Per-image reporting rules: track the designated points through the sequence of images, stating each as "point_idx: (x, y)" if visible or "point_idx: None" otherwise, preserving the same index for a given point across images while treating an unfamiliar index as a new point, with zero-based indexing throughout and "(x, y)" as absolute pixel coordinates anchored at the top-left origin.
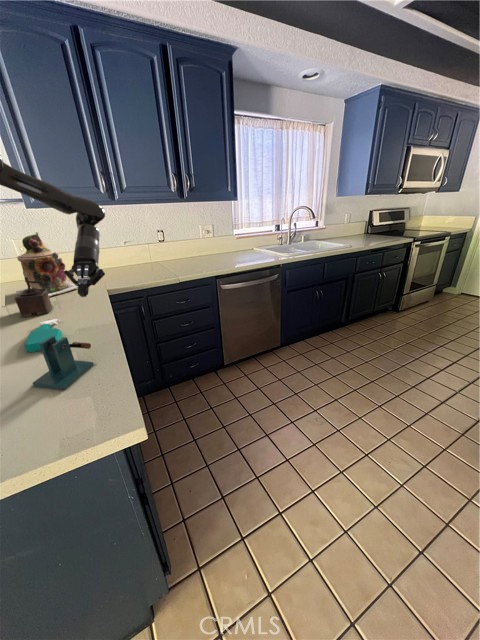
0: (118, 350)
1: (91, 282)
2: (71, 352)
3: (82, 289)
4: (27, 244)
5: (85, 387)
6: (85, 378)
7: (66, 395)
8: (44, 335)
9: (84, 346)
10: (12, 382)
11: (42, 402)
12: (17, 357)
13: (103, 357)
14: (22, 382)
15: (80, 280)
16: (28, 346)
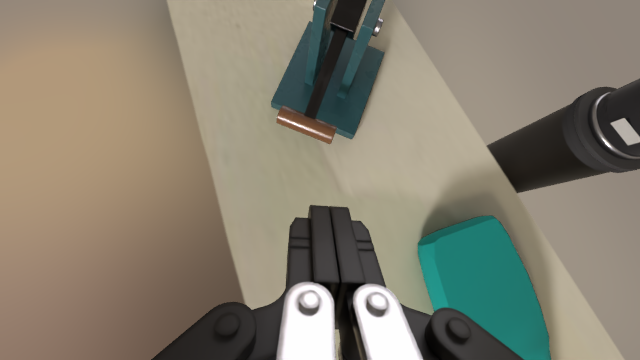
0: (213, 171)
1: (226, 311)
2: (309, 47)
3: (324, 231)
4: None
5: (266, 24)
6: (276, 56)
7: (299, 10)
8: (482, 285)
9: (292, 108)
10: (434, 85)
11: None
12: (494, 199)
13: (253, 140)
14: (413, 79)
15: (376, 337)
16: (489, 216)
